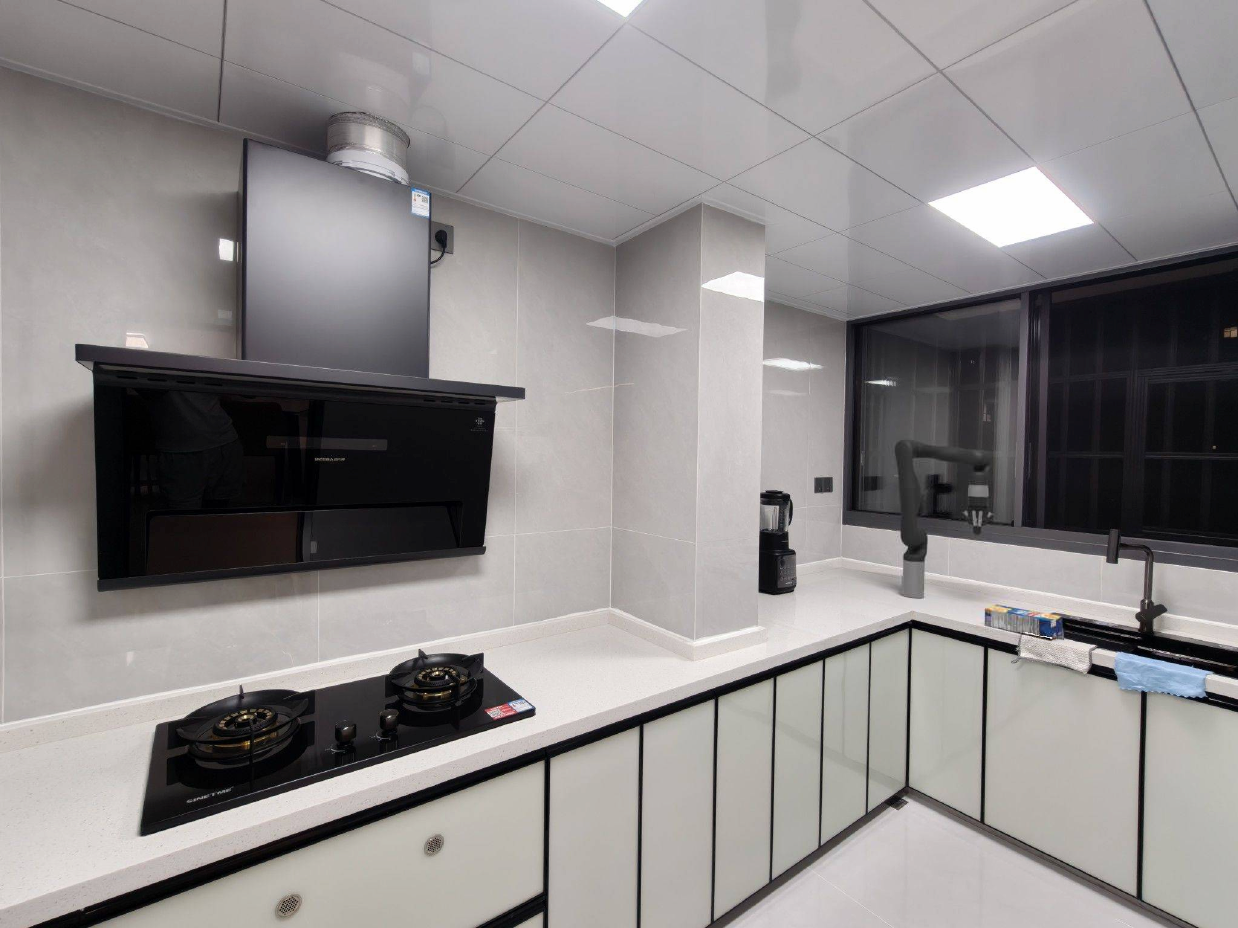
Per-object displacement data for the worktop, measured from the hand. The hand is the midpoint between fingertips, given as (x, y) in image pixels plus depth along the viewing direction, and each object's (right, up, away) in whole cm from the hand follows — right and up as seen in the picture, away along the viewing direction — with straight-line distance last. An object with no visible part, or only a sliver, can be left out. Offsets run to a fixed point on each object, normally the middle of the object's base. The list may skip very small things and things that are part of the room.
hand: (977, 534), depth 246 cm
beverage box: (-8, -30, -20) cm, 37 cm away
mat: (+3, -34, -27) cm, 43 cm away
